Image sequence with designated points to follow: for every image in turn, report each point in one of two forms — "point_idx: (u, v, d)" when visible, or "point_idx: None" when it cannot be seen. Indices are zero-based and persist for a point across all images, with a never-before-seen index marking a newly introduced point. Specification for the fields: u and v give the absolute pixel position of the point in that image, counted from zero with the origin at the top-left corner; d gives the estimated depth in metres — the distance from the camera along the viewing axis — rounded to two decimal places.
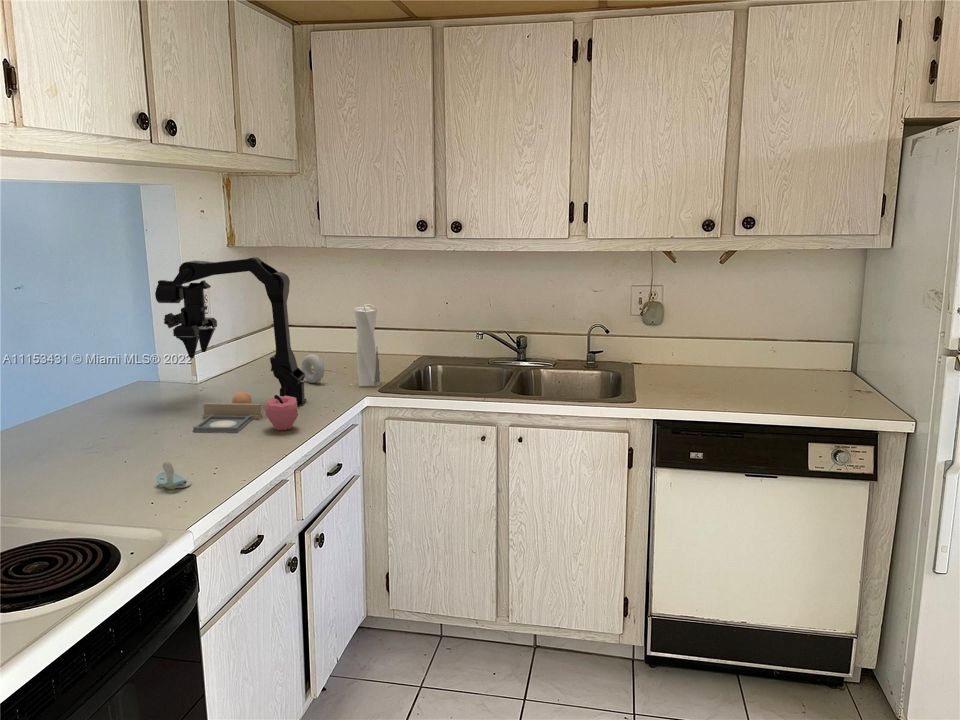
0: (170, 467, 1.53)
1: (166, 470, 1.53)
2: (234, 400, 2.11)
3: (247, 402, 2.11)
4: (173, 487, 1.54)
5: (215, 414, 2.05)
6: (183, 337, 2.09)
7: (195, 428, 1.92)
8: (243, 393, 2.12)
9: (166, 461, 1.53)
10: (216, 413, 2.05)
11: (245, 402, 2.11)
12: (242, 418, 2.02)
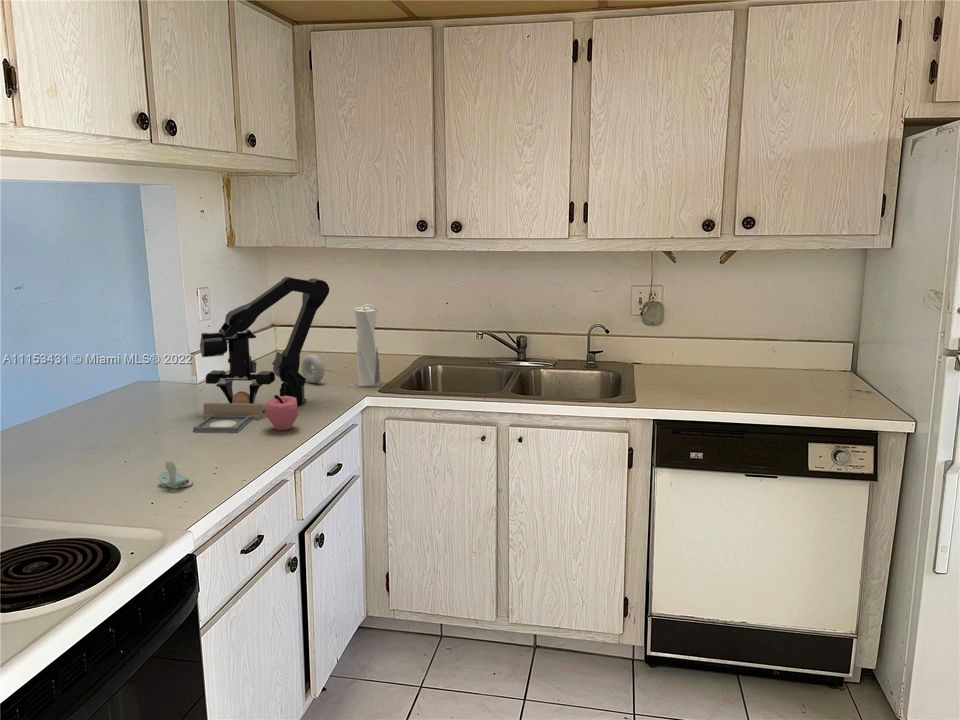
0: (172, 466, 1.53)
1: (168, 469, 1.53)
2: (234, 400, 2.11)
3: (247, 402, 2.11)
4: (175, 486, 1.54)
5: (215, 414, 2.05)
6: None
7: (195, 428, 1.92)
8: (243, 393, 2.12)
9: (168, 460, 1.54)
10: (216, 413, 2.05)
11: (245, 402, 2.11)
12: (242, 418, 2.02)
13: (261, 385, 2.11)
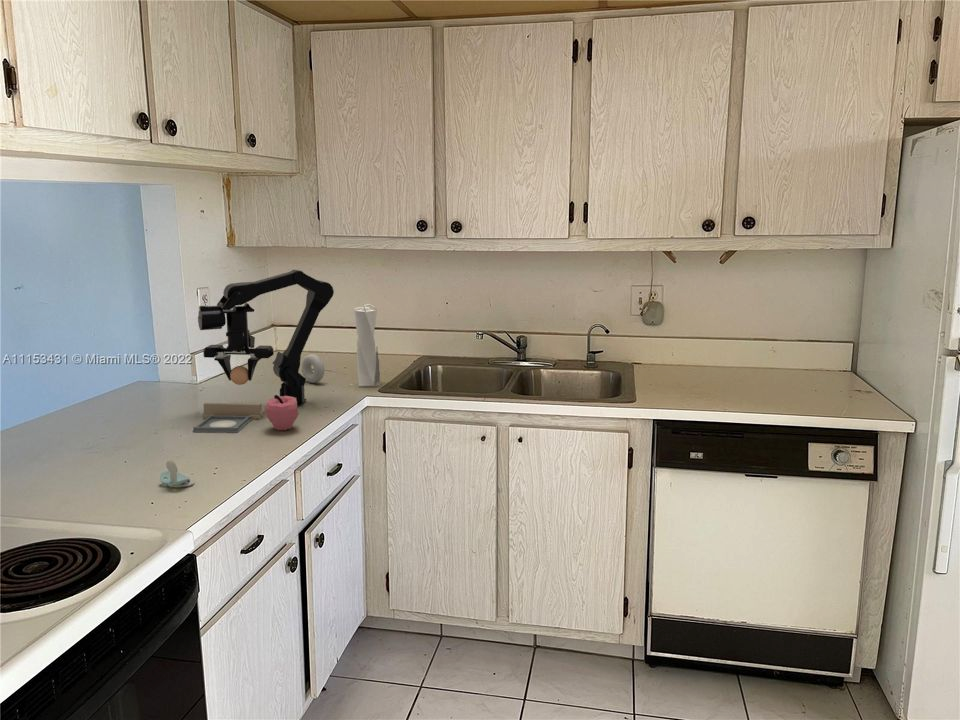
0: (173, 466, 1.53)
1: (170, 469, 1.54)
2: (232, 375, 2.09)
3: (245, 376, 2.10)
4: (176, 486, 1.54)
5: (215, 414, 2.05)
6: None
7: (195, 428, 1.92)
8: (241, 367, 2.10)
9: (170, 460, 1.54)
10: (216, 413, 2.05)
11: (243, 376, 2.09)
12: (242, 418, 2.02)
13: (259, 359, 2.09)
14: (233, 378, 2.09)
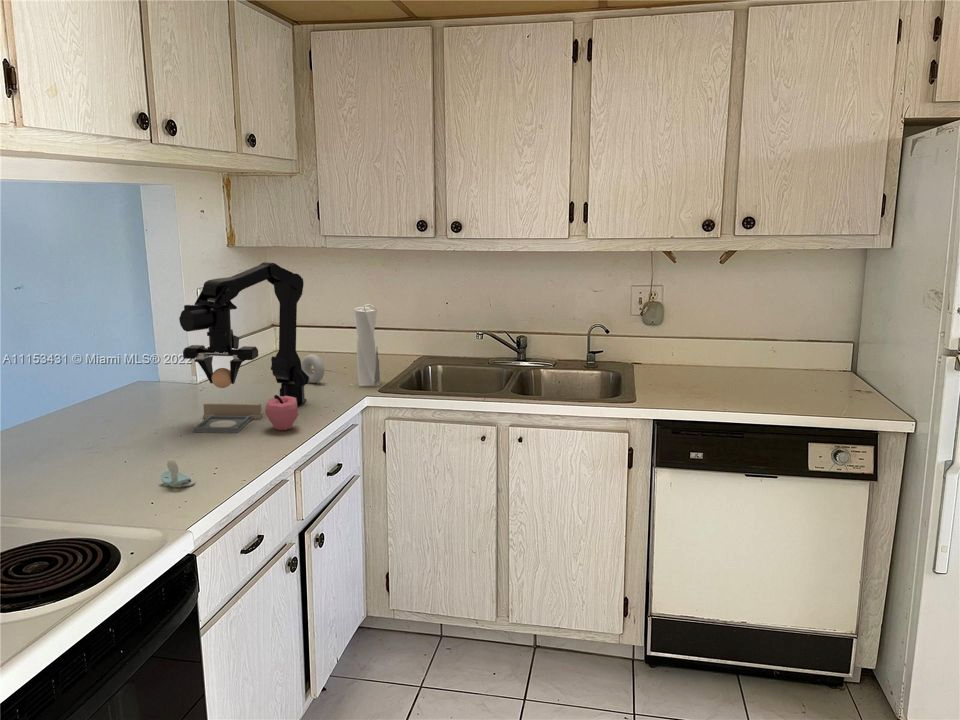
0: (174, 466, 1.54)
1: (171, 469, 1.54)
2: (213, 377, 1.95)
3: (228, 379, 1.96)
4: (177, 485, 1.54)
5: (215, 414, 2.05)
6: None
7: (195, 428, 1.92)
8: (223, 369, 1.96)
9: (171, 460, 1.54)
10: (216, 413, 2.05)
11: (225, 379, 1.95)
12: (242, 418, 2.02)
13: (243, 361, 1.95)
14: (214, 381, 1.95)
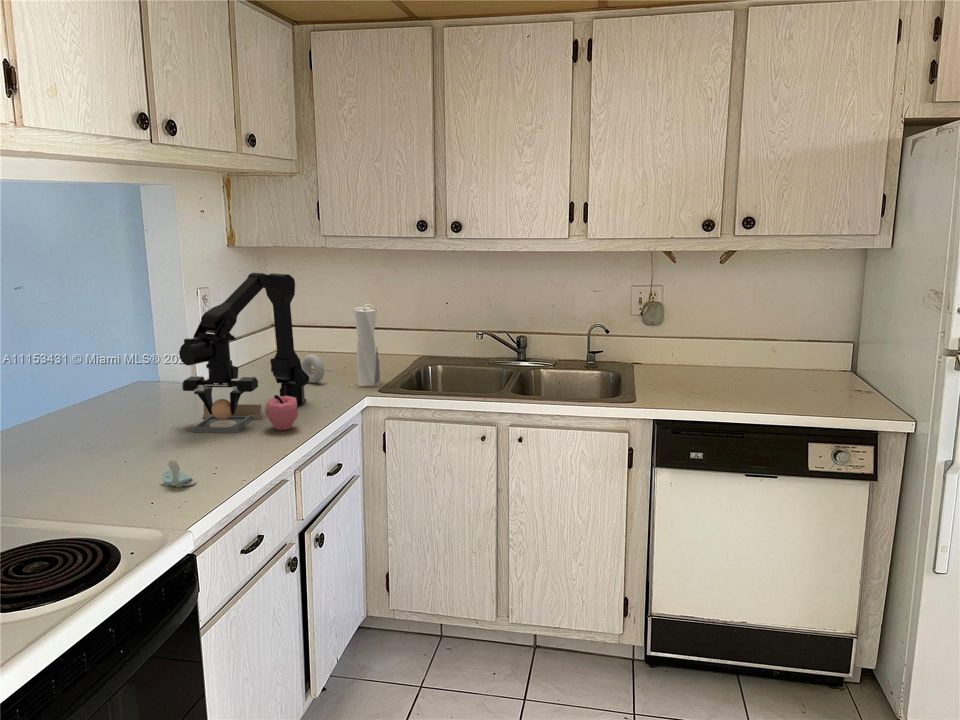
0: (175, 465, 1.54)
1: (172, 468, 1.54)
2: (213, 409, 1.95)
3: (228, 411, 1.95)
4: (179, 485, 1.55)
5: None
6: None
7: (195, 428, 1.92)
8: (223, 401, 1.95)
9: (172, 459, 1.54)
10: None
11: (225, 411, 1.95)
12: (242, 418, 2.02)
13: (243, 392, 1.95)
14: (214, 412, 1.95)
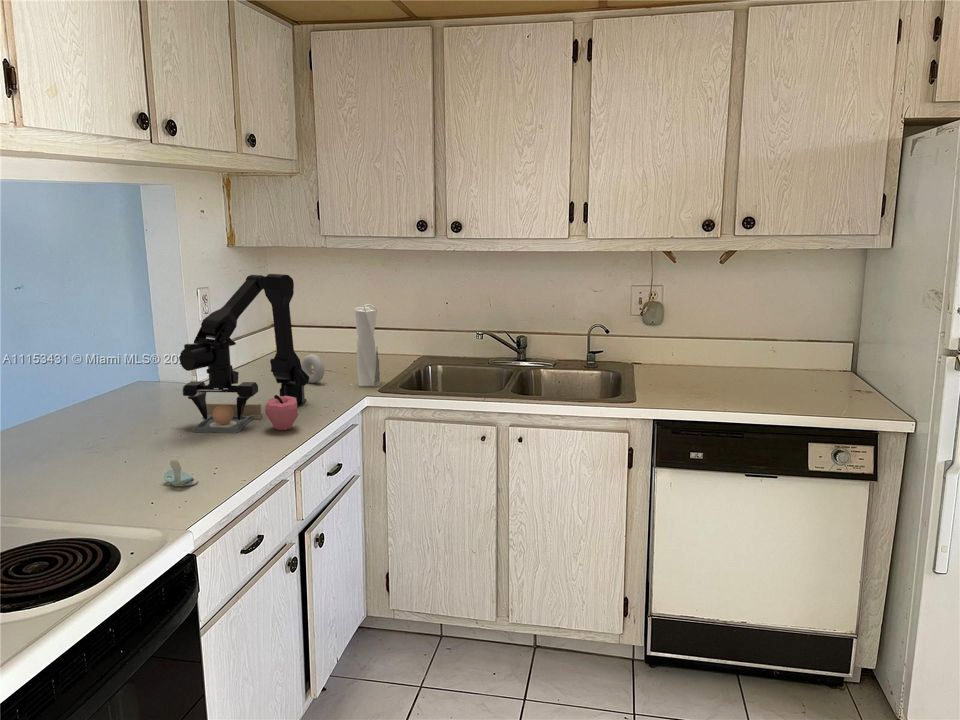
0: (177, 465, 1.54)
1: (173, 468, 1.54)
2: (214, 414, 1.95)
3: (228, 416, 1.95)
4: (180, 485, 1.55)
5: None
6: None
7: (195, 428, 1.92)
8: (225, 406, 1.96)
9: (173, 459, 1.54)
10: None
11: (226, 416, 1.95)
12: (242, 418, 2.02)
13: (249, 397, 1.95)
14: (215, 417, 1.95)
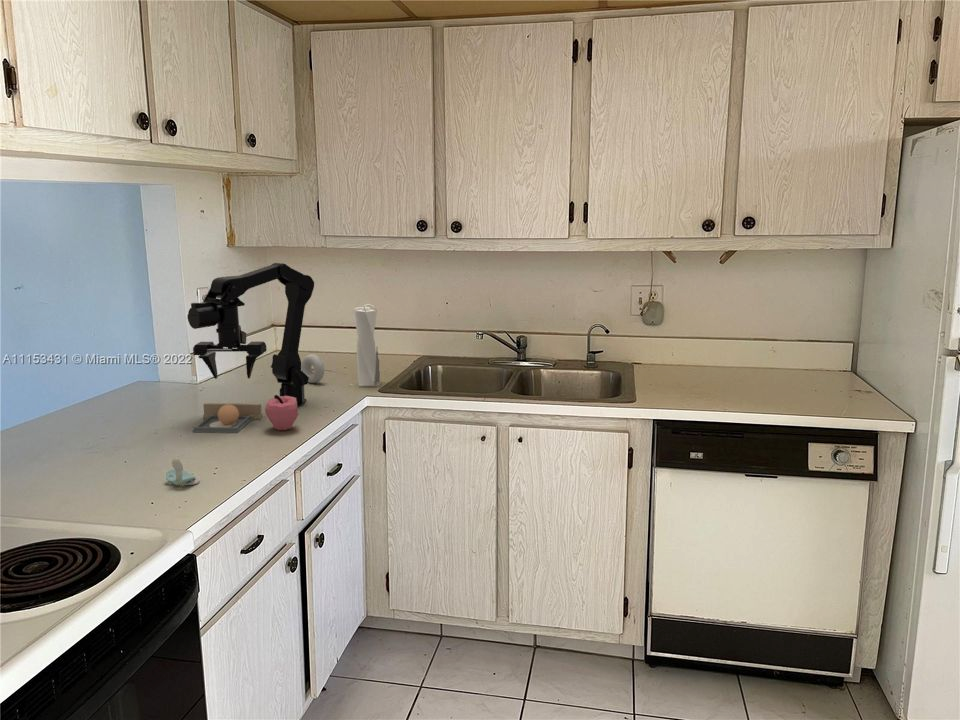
0: (179, 464, 1.54)
1: (175, 467, 1.55)
2: (221, 411, 1.95)
3: (233, 420, 1.96)
4: (182, 484, 1.55)
5: (215, 414, 2.05)
6: None
7: (195, 428, 1.92)
8: (234, 410, 1.96)
9: (175, 458, 1.55)
10: (216, 413, 2.05)
11: (231, 420, 1.95)
12: (242, 418, 2.02)
13: (258, 356, 2.00)
14: (221, 415, 1.95)
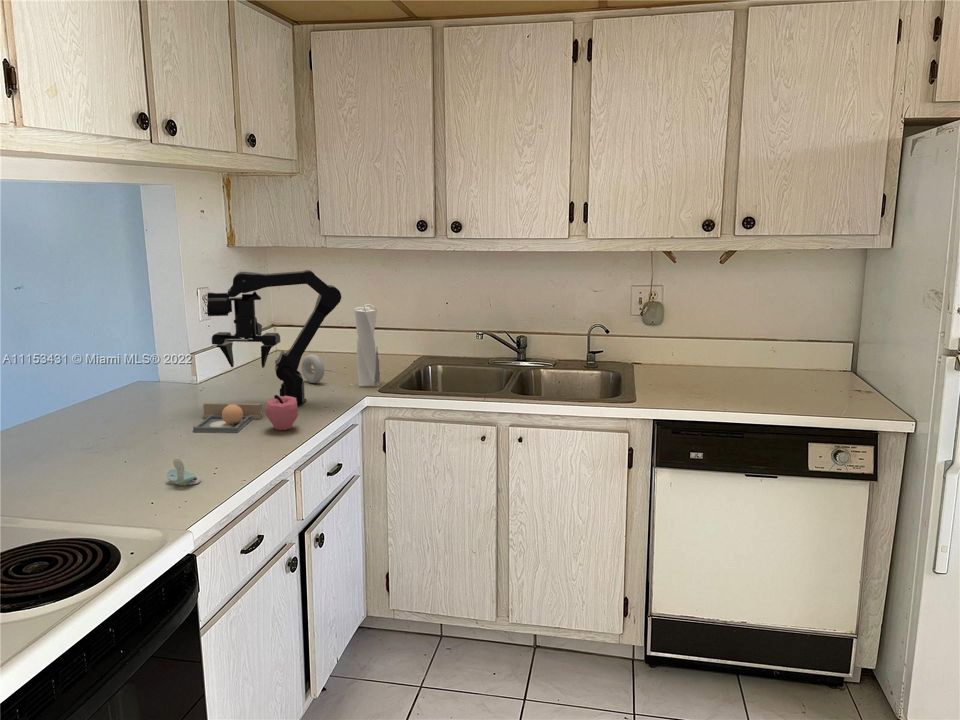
0: (180, 464, 1.55)
1: (177, 467, 1.55)
2: (227, 411, 1.95)
3: (234, 422, 1.96)
4: (183, 484, 1.56)
5: (215, 414, 2.05)
6: None
7: (195, 428, 1.92)
8: (240, 413, 1.96)
9: (177, 458, 1.55)
10: (216, 413, 2.05)
11: (233, 421, 1.95)
12: (242, 418, 2.02)
13: (272, 346, 2.12)
14: (225, 414, 1.95)
